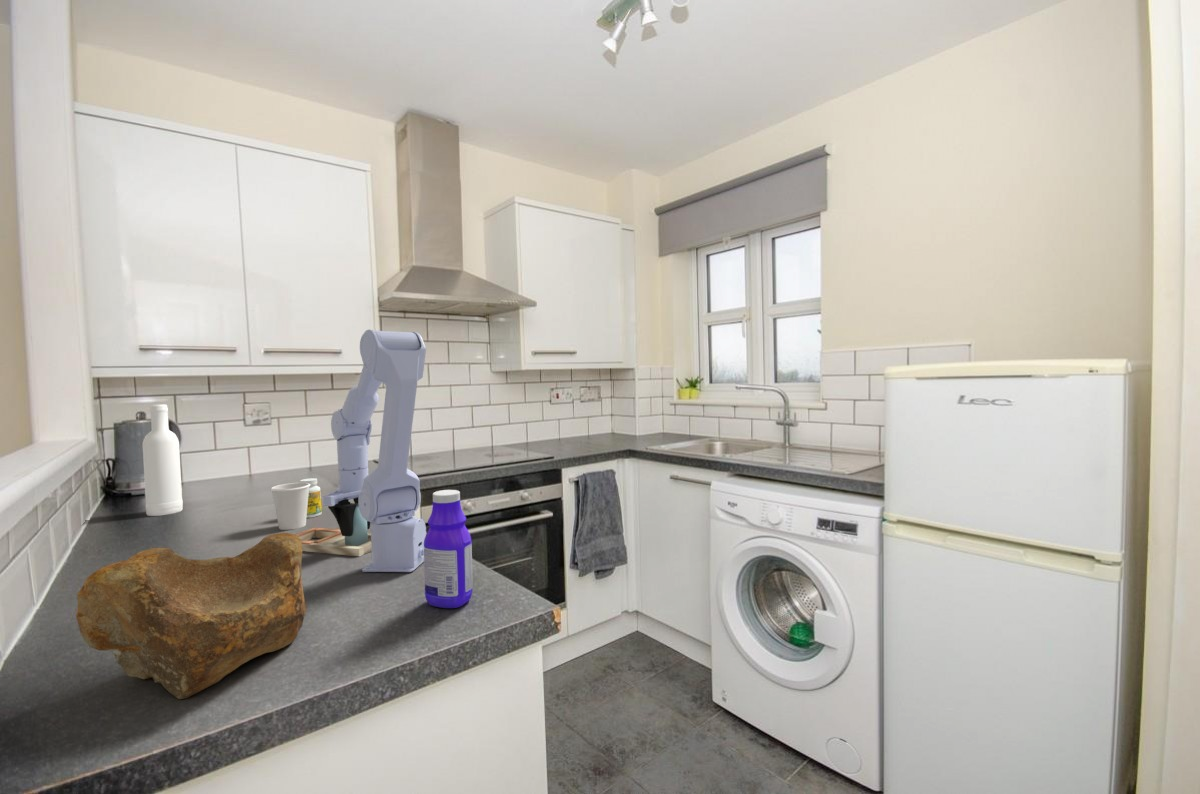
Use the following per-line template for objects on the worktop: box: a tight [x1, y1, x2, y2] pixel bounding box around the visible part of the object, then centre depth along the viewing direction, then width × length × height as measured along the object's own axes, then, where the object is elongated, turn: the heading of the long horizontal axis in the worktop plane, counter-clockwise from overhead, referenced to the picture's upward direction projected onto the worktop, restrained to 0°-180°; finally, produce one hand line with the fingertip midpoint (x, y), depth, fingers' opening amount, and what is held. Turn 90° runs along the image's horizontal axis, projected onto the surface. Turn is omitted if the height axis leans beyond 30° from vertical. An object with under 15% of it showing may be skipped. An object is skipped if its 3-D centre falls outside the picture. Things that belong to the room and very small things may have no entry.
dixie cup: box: [270, 482, 310, 531], centre depth 128 cm, size 8×8×10 cm
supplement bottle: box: [299, 477, 323, 519], centre depth 138 cm, size 5×5×10 cm
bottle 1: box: [141, 403, 184, 517], centre depth 145 cm, size 8×8×30 cm
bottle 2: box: [423, 489, 473, 609], centre depth 82 cm, size 7×6×17 cm
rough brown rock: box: [75, 532, 307, 700], centre depth 64 cm, size 23×17×15 cm
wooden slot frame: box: [294, 527, 371, 557], centre depth 112 cm, size 21×10×2 cm, turn 73°
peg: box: [345, 504, 369, 547], centre depth 110 cm, size 4×4×8 cm
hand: (356, 532), depth 111 cm, fingers closed on peg, 4 cm apart
